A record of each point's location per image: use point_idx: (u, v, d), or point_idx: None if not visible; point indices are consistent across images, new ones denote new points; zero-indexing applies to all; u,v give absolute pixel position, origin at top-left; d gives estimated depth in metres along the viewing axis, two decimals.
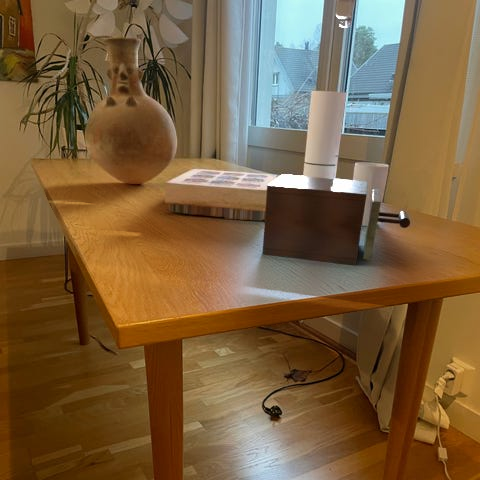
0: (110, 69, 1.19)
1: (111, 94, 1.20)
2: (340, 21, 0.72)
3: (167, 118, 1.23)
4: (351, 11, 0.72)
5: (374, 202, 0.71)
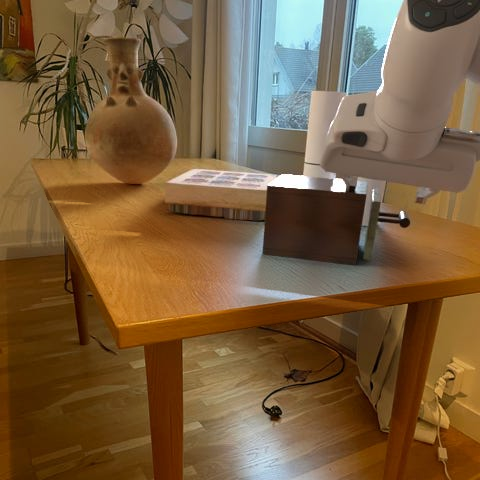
0: (110, 69, 1.19)
1: (111, 94, 1.20)
2: None
3: (167, 118, 1.23)
4: (352, 175, 0.71)
5: (374, 202, 0.71)
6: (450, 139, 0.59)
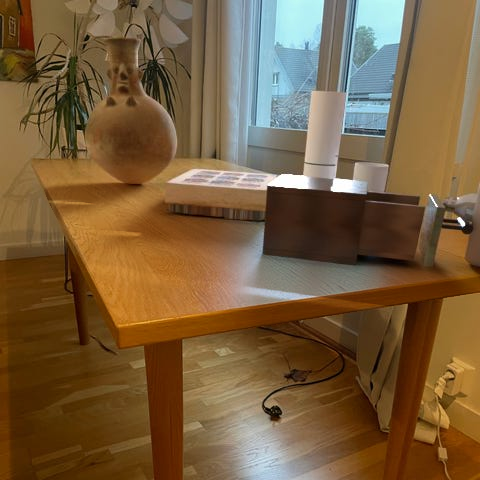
0: (110, 69, 1.19)
1: (111, 94, 1.20)
2: (449, 197, 0.74)
3: (167, 118, 1.23)
4: (456, 209, 0.73)
5: (439, 208, 0.69)
6: None
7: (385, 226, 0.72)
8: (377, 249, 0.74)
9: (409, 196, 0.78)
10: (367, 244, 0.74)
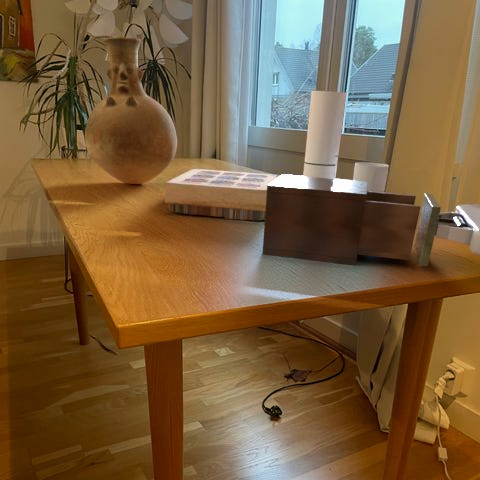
0: (110, 69, 1.19)
1: (111, 94, 1.20)
2: None
3: (167, 118, 1.23)
4: (440, 223, 0.79)
5: (434, 208, 0.69)
6: None
7: (380, 226, 0.73)
8: (372, 248, 0.74)
9: (405, 196, 0.79)
10: (363, 243, 0.74)
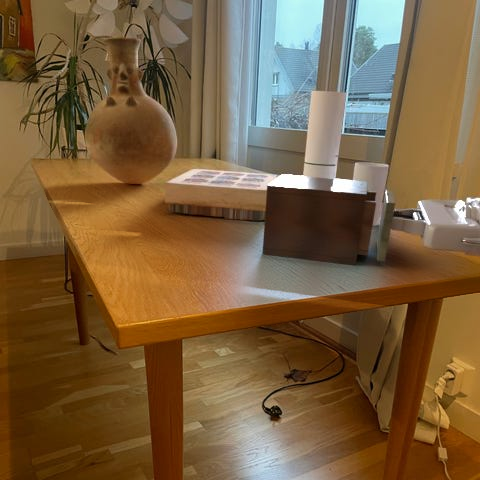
0: (110, 69, 1.19)
1: (111, 94, 1.20)
2: (394, 211, 0.78)
3: (167, 118, 1.23)
4: None
5: (388, 203, 0.70)
6: None
7: None
8: None
9: None
10: None
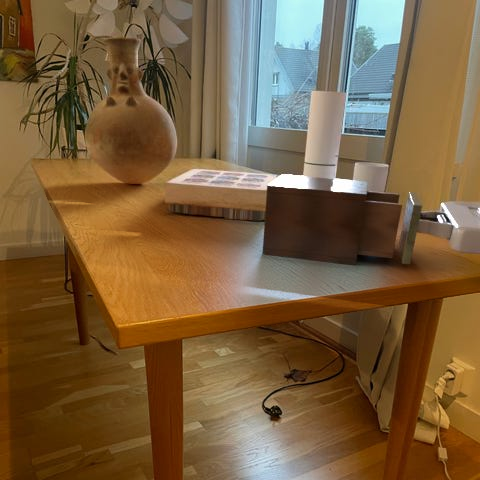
0: (110, 69, 1.19)
1: (111, 94, 1.20)
2: None
3: (167, 118, 1.23)
4: None
5: (415, 206, 0.69)
6: None
7: (363, 224, 0.73)
8: None
9: (389, 194, 0.79)
10: None
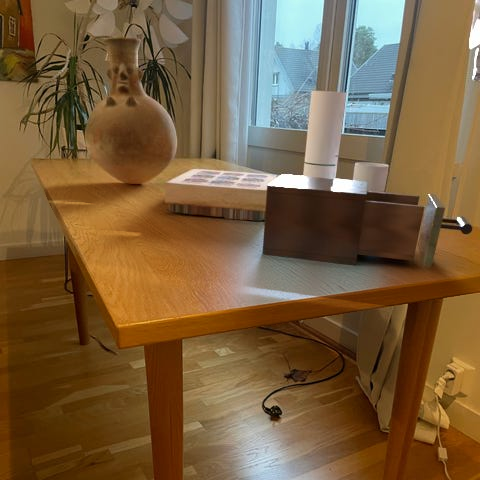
0: (110, 69, 1.19)
1: (111, 94, 1.20)
2: (475, 76, 0.74)
3: (167, 118, 1.23)
4: None
5: (438, 208, 0.69)
6: None
7: (384, 226, 0.72)
8: (376, 249, 0.74)
9: (408, 196, 0.79)
10: (366, 244, 0.74)
